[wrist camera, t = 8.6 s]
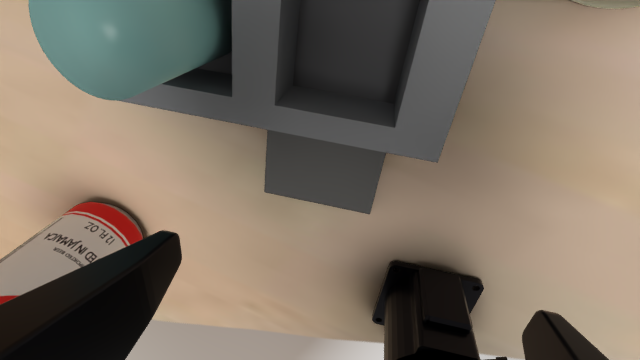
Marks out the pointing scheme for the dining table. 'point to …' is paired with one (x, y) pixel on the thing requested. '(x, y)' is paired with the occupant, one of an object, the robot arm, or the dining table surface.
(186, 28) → the plug
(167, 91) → the dock
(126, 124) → the dining table surface
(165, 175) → the dining table surface
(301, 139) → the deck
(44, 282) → the beer can
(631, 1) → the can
